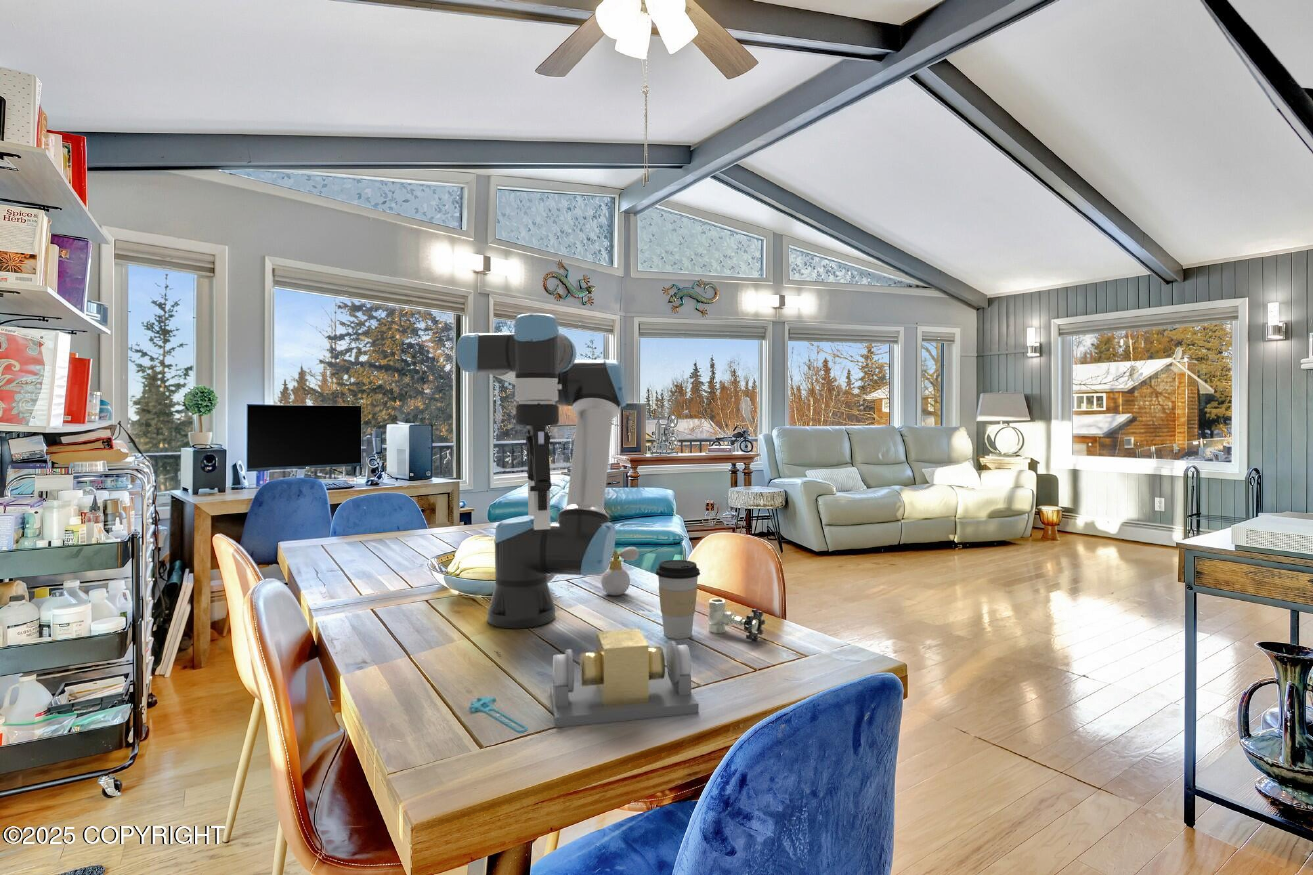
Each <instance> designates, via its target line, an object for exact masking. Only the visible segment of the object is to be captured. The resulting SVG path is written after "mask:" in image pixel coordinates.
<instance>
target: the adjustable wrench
mask: <svg viewBox="0 0 1313 875" xmlns="http://www.w3.org/2000/svg"><path fill="white" fill-rule="evenodd" d="M496 701H497V699H496V697H492V696H479V697H477V698H476V700H473V699H472V700H471V702H470V703H471V704H470V705H469V707H468V709H469V711H470V713H473V714H475V713H476V712H481V713H484V714H486V715H488V716H490V717H491V718H493V719H495V720H497V721H498V722H500V723H502V724H504V725H505V726H507V727H508V728H510V729H511V730H513V731H515V732H516V733H525V732H527V731H528V726H526V725H524V724H522V723H521V722H519V721H518V720H516V719H513V718H512V717H510V716H509V715H507V714H505V713H504V712H501V711H500V710H498V709H497V708H495V707H494V706H493V703H494V702H496ZM491 712H494V713H496V714H493V713H491ZM517 727H520V728H521V729H518V728H517Z"/></svg>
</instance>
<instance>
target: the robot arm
mask: <svg viewBox="0 0 1313 875" xmlns="http://www.w3.org/2000/svg"><path fill="white" fill-rule="evenodd" d="M558 325H559V324H558V319H557V317H556V316H554V315H552V314H547V313H524V314H523V313H522V314H520V315H519V314H518V316H516V318H515V320H514V330H513V331H514V332H483V333H482V332H473V333H465V334H462V335H461V336H460V337H459V338H458V340H457V342H456V348H455V349H456V350H455V355H456V361H457V364H458V366H459V368H460V370H462V371H463V372H466V373H475V374H478V373H487V374H489V375H492V376H494V377H496V378H498V379H501V380H503V381H505V382H508V383H510V384H511V385H514V400H515V401H517V402H518V404H516V406H515V423H516V424H517V426H522V427H523V426H529V428H528V429H527V431H526V433H527V435H525V445H526V454H527V471H526V475H527V479H528V480H527V501H528V502H527V504H528V505H527V506H528V507H527V508H528V509H527V513H528V515H522V516H515V517H512V518H506V519H504V520H501V521H500V522H498V523H497V525H496V527H495V536H494V543H493V544H494V564H495V565H494V566H495V567H494V574H495V579H494V580H495V586H494V589H493V592H492V596H491V600H490V602H489V605H488V609H487V622H488V624H489V625H492V626H494V627H496V628H497V627H498V628H503V629H528V628H534V627H539V626H543V625H545V624H548V623H551V622H552V621H553V620H555V618H556V604H555V602H554V598H553V596H552V594H551V593H552V592H551V591H550V588H549V584H548V575H549V574H550V575H565V576H566V575H568V576H569V575H570V576H571V575H573V576H583V577H588V576H600V575H601V576H602V575H603V574H604V572H605V571H606V570H607V569H608V568H609V567H610V562H611V559H613V554H614V551H615V547H616V546H615V544H616V539H615V538H616V527H615V525H614V523H611V522H610V516H609V515H608V514H607V512H606V511H605V508H604V507H605V497H606V489H607V488H606V487H607V475H608V467H609V466H608V465H609V457H610V447H611V437H612V436H611V434H612V425H613V420H614V419H615V418H616V417H618V416H619V414H620V407H622V408H623V407H625V406H627V404H628V391H627V389H628V388H627V383H626V382H627V380H626V376H625V370H624V368H623V367H624V366H623V365H622V363H621V362H620V361H619V360H618V359H617V360H616V359H605V358H602V359H576V358H577V349H576V346H575V344H574V342H573V341H572V340H571V339H570V338H569V337H568V336H567V335H565V334H564V333H563V334H562V333H560V330H559V326H558ZM561 406H562V407H563V406H565V407H572V408H571V409H572V411H573V412H574V414H575V415H576V423H575V424H576V425H575V431H574V433H575V435H574V439H573V450H572V457H571V466H570V473H569V474H570V475H569V484H568V491H567V500H566V506H565V507H564V508H563V509H561V510H560V511H559V513H558V518H557V521H551V488H552V486H553V485H552V480H551V479H552V478H551V466H550V465H551V463H550V455H551V454H550V453H551V452H550V451H551V450H550V444H551V436H550V433H549V431H547V430H546V426H557V425H559V421H560V410H559V409H560V407H561Z"/></svg>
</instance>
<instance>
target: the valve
mask: <svg viewBox="0 0 1313 875" xmlns="http://www.w3.org/2000/svg"><path fill="white" fill-rule="evenodd" d="M708 607H709V608H708V612H707V620H708V622H709V623H708V625H709V626H708V629H709V630H708V631H709V633H714V634H724V633H726V626H728V627H732V626H733V625H735V626H739V627H743V630H744V631H745V632H747V633H748V634H746V635H745V639H746V640H749V641H753V642H757V641H759V637H758V636H762V635H763V633H764V631H763V629H762V627H763V626H764V625H765V623H766V620H765V619H763V618H762V617H763V616H764V612H763V611H762V610H758V609H756V608H752V609H751V613H753V614H752V615H750V614H747V615H746V617H745V618H744V617H741V616H737V615H736V614H735V613H734V612H733V611H727V610H726V600H725V599H723V598H716V597H715V598H710V599H709V604H708ZM753 630H755V631H754V632H753Z"/></svg>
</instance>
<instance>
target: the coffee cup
mask: <svg viewBox="0 0 1313 875" xmlns="http://www.w3.org/2000/svg"><path fill="white" fill-rule="evenodd" d="M697 566H698V565H697V563H696V562H695V561H691V560H687V559H686V560H685V559H669V560H663V561H661V562H659V563H658V567H657V568H655V573H654V574H655V575H656V576H657V577H658V596H659V604H660V613H661V618H662V630H663V635H664V636H665V637H666V638H669V639H672V640H682V639H683V640H684V639H688V638H691V637H692V635H693V628H694V618H695V613H696V605H697V604H696V603H697V596H698V578H699V577H700V575H701V572H700V571H701V570H700V568H699V567H697Z"/></svg>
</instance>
